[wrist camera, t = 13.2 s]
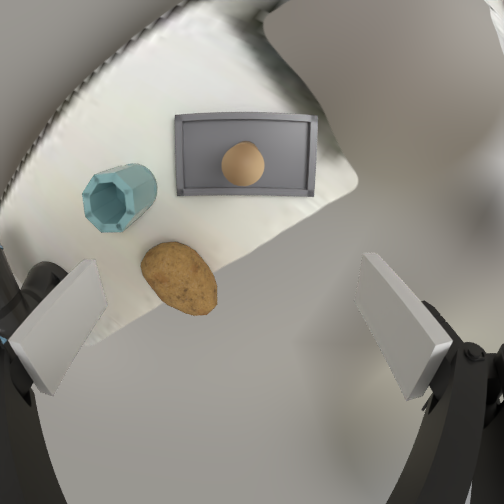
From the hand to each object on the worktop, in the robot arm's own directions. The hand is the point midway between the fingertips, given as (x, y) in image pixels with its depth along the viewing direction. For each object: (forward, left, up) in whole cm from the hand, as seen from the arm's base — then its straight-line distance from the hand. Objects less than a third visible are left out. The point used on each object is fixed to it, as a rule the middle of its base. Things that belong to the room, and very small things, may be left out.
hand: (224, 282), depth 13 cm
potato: (-9, -15, -31) cm, 36 cm away
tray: (+1, +4, -31) cm, 31 cm away
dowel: (+1, +4, -30) cm, 30 cm away
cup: (-17, -1, -31) cm, 35 cm away
